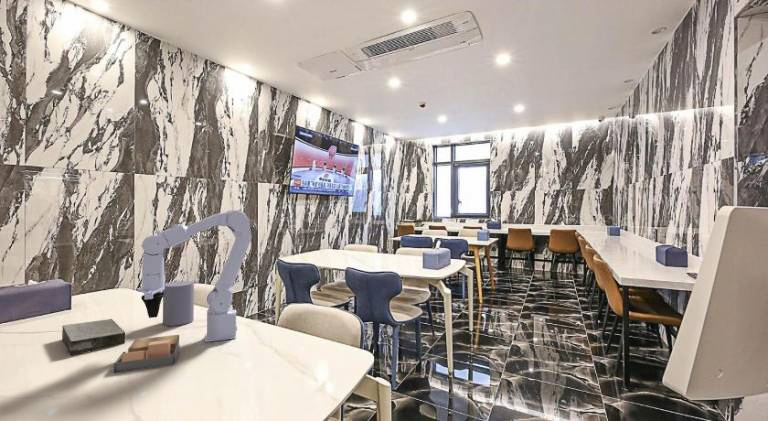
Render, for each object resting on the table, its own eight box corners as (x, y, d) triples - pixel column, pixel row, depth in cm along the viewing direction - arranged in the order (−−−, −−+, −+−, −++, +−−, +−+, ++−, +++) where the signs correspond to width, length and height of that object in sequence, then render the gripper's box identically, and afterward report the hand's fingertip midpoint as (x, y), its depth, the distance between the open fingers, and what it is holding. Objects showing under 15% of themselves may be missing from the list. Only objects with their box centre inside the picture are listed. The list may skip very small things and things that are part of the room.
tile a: (170, 339, 103) (168, 342, 101) (170, 356, 103) (168, 360, 101) (150, 341, 101) (148, 345, 99) (150, 359, 101) (147, 362, 99)
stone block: (70, 357, 104) (70, 340, 104) (61, 340, 117) (61, 325, 117) (126, 345, 114) (126, 329, 114) (112, 330, 127) (112, 316, 127)
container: (196, 322, 135) (196, 284, 135) (165, 328, 129) (165, 287, 129) (190, 316, 143) (190, 279, 143) (160, 321, 137) (161, 283, 137)
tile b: (144, 351, 98) (143, 360, 97) (147, 350, 102) (147, 359, 101) (122, 353, 96) (121, 363, 95) (127, 352, 100) (126, 362, 99)
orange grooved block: (179, 343, 114) (179, 334, 114) (175, 353, 107) (175, 343, 107) (135, 349, 110) (135, 339, 110) (127, 359, 102) (128, 348, 102)
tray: (179, 352, 107) (179, 345, 107) (174, 364, 99) (175, 355, 99) (123, 360, 102) (123, 351, 102) (113, 372, 94) (113, 363, 94)
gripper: (143, 270, 115) (143, 312, 115) (132, 278, 102) (132, 325, 102) (168, 269, 118) (168, 309, 118) (160, 277, 105) (160, 322, 105)
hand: (153, 317), depth 110 cm, fingers closed
